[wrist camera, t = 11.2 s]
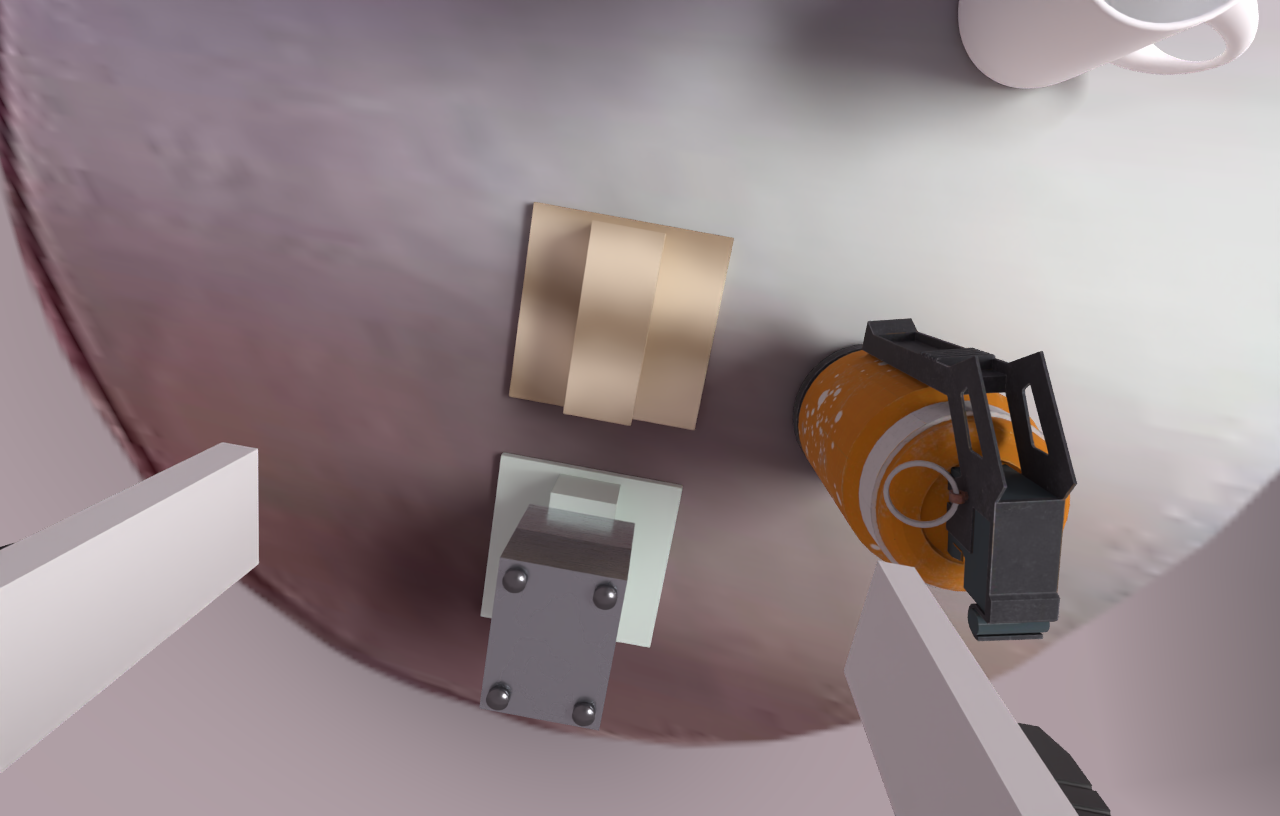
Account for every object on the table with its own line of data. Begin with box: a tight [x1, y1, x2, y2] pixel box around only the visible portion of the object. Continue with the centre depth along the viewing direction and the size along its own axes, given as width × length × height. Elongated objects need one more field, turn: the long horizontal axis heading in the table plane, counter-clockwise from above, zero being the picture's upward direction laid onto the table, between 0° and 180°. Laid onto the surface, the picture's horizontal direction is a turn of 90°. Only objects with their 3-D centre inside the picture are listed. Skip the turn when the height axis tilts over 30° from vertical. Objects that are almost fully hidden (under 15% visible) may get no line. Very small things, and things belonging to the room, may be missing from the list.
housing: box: [480, 504, 635, 730], centre depth 37 cm, size 9×6×7 cm
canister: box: [793, 318, 1077, 641], centre depth 31 cm, size 9×11×20 cm
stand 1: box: [509, 202, 734, 430], centre depth 38 cm, size 12×12×4 cm
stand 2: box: [481, 453, 682, 647], centre depth 42 cm, size 12×12×4 cm
